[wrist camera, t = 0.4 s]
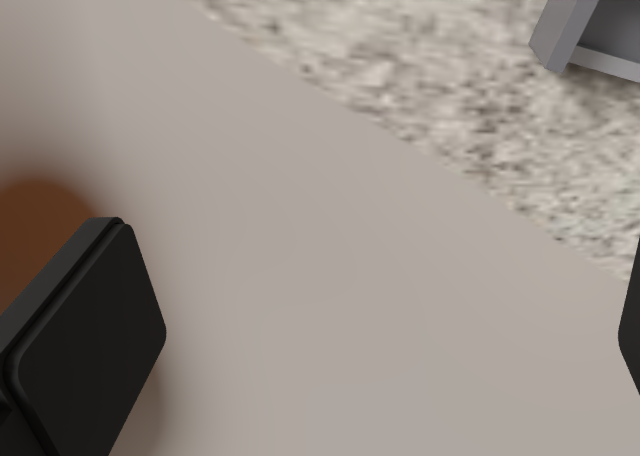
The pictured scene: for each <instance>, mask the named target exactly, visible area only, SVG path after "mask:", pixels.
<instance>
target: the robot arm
mask: <svg viewBox="0 0 640 456" xmlns="http://www.w3.org/2000/svg"><path fill="white" fill-rule="evenodd" d="M165 340H166V326H165V323H164V320H163V317H162V314H161V311H160V308H159V305H158V302H157V300H156V296H155V293H154V290H153V287H152V284H151V281H150V279H149V275H148V272H147V270H146V266H145V263H144V260H143V258H142V254H141V252H140V249H139V246H138V243H137V240H136V237H135V234H134V231H133V229H132V227H131V226H130V225H128V224H125V223H124V222H123V220H122V219H121V218H118V217H99V218H89V219H87V220H86V221H85V222H84V223H83V224H82V225H81V226H80V227H79V229H78V230H77V231H76V232H75V233H74V234H73V235H72V236H71V238H70V239H69V240H68V241H67V242H66V243H65V244H64V246H62V248H61V249H60V250H59V251H58V252H57V253H56V254H55V255H54V256H53V258H52V259H51V260H50V261H49V262H48V263H47V264H46V266H45V267H44V268H43V269H42V270H41V271H40V272H39V273H38V274H37V276H36V277H35V278H34V279H33V280H32V281H31V282H30V283H29V284H28V285H27V287H26V288H25V289H24V290H23V291H22V292H21V294H20V295H19V296H18V297H17V298H16V299H15V300H14V301H13V302H12V303H11V305H10V306H9V307H8V308H7V309H6V310H5V311H4V312H3V313H2V315H1V316H0V456H108V455H109V453H110V451H111V449H112V447H113V445H114V443H115V441H116V439H117V437H118V435H119V433H120V431H121V429H122V427H123V425H124V423H125V421H126V419H127V417H128V415H129V413H130V411H131V409H132V407H133V405H134V403H135V402H136V400H137V397H138V395H139V394H140V392H141V389H142V388H143V386H144V383H145V382H146V380H147V378H148V376H149V374H150V372H151V370H152V368H153V366H154V364H155V362H156V360H157V358H158V356H159V354H160V352H161V350H162V348H163V346H164V343H165ZM618 341H619V347H620V350H621V353H622V355H623V357H624V360H625V362H626V364H627V367H628V369H629V371H630V374H631V376H632V378H633V381H634V383H635V385H636V388H637V389H638V392H639V394H640V238H639V242H638V247H637V251H636V255H635V260H634V264H633V268H632V273H631V277H630V282H629V286H628V290H627V295H626V299H625V304H624V308H623V312H622V317H621V321H620V325H619V331H618Z"/></svg>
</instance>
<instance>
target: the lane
mask: <svg viewBox="0 0 640 456" xmlns="http://www.w3.org/2000/svg"><path fill="white" fill-rule="evenodd" d="M529 46H530V47H531V49H532V50H533V52H534V53H535V55H536V56H537V58H538V59H539V61H540V62H541V64H542V65H543V67H544V68H545V69H548V70H552V71H555V72H559V73H563V71H564V69H565V67H566V65H567V63H568V62H570V63H573V64H577V65H580V66H583V67H587V68H590V69H594V70H597V71H601V72H604V73H607V74H611V75H614V76H618V77H621V78H625V79H628V80H631V81H635V82H638V83H640V0H548V2H547V4H546V6H545V8H544V10H543V13H542V15H541V17H540V19H539V21H538V24H537V26H536V28H535V30H534V33H533V35H532V37H531V39H530V41H529Z"/></svg>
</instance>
